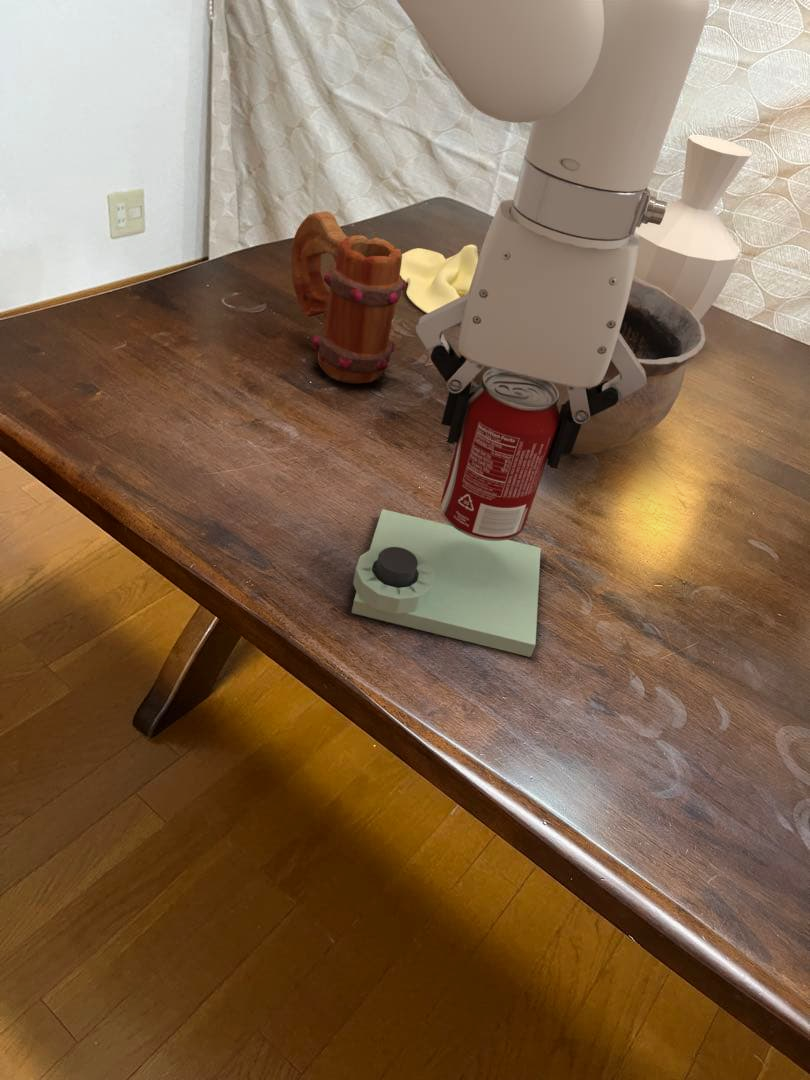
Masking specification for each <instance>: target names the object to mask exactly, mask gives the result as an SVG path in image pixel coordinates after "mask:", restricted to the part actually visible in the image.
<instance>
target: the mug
mask: <svg viewBox="0 0 810 1080" xmlns="http://www.w3.org/2000/svg"><path fill="white" fill-rule="evenodd" d="M293 238H294V239H293V242H292V246H291V259H290V265H291V267H290V269H291V278H292V284H293V288H294V291H295V295H296V298H297V301H298V303H299V305H300V307H301V310H302V312H303V314H304V315H305V316H306V317H307V318H309V317H315V316H317V315H321V314H325V313H326V314H325V319H324V322H322V324H320V326H319V329H318V331H317V335H315V336H314V337H312V338H311V345H312V347H313V348H314V349H316V350H317V362H318V365H319V367H320V368H321V369H322V371H323V372H324V374H326V375H327V376H328V377H329V378H331V379H333V380H335V381H338V382H341V383H344V384H350V385H351V384H366V383H367V384H368V383H372V382H374V381H375V380H378V379H379V378H380V377H382V375H383V371H385V370H386V369H388V364H389V362H390V358H391V354H392V353H393V352H394V351H395V348H396V346H395V344H394V342H392V341H391V339H390V334H391V329H392V323H393V320H394V317H395V312H396V305H397V303H398V302H399V300H400V299H401V296H402V293H403V292H402V291H404V290H405V288H406V287H407V283H406V282H405V280H404V279H402V277H401V276H400V269H401V263H402V254H403V253H402V251H401V250H400V249H399V248H395V246H394V245H393V244H392V243H391V242H390V241H388V240H385V239H383V238H379V237H373V238H372V239H368V237H366V236H365V235H362V234H360V235H359V234H358V235H350V236H348V235H346V234H345V233H344V231H343V230H342V228H341V226H340V225H339V223H338V220H337V219H336V216H335V215H334V214H333V213H331V212H329V211H320V212H314V213H310V214H308V215H307V216H306V217H305V218H304V219H303V221H302V222H301V223H300V225H299V226H298V228H297V229H296V232H295V234H294V237H293ZM325 254H329V255H331V256H332V257H333V258H334V260H333V262H332V264H330V266H329V270H328V272H327V273H326V274H325V275H324V276H323V275H322V255H325ZM325 284H326V285H327V286H328V287H329V291H328V288H327V287H326V285H325Z"/></svg>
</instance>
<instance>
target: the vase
mask: <svg viewBox="0 0 810 1080" xmlns="http://www.w3.org/2000/svg"><path fill="white" fill-rule="evenodd" d="M752 155H753V152H751V151H750V150H749V149H748V148H747V147H744V146H743V145H740V144H738V143H736V142H733V141H729V140H726V139H723V138H719V137H717V136H716V137H715V136H709V135H705V134H689V135H688V136H687V144H686V151H685V161H684V162H685V163H684V170H683V178H682V179H683V181H682V187H681V188H682V189H681V197H680V199H678V200H675V201H673V202H670V203H667V206H666V211H665V214H664V217H663V220H662V222H661V223H660V225H658V224H654V223H650V222H648V223H647V224H644V223H641V225H640V227H636V229H635V232H636V233H637V234H638V236H639V247H638V254H637V260H636V267H635V272H634V277H636V278H638V279H640V280H643V281H645V282H647V283H649V284H651V285H654V286H656V287H658V288H661V289H663V290H664V291H665V292H666V293H668V294H669V295H670V296H671V297H673V298H674V299H675V300H676V301H677V302H678V303H680V304H681V305H683V306H685V307H686V308H688V309H690V310H691V311H693V312H694V314H695V315H696V317H697V318H698V320H699V322H701V320H702V318H703V317H704V316H705V315H706V313H707V312H708V311H709V310H710V308H711V307H712V306H713V304H714V303H715V302H716V301H717V299H718V298H719V296H720V294H721V293H722V292H723V290H724V288H725V287H726V284H727V282H728V280H729V278H730V276H731V274H732V271H733V270H734V267H735V265H736V263H737V260H738V258H739V256H740V254H741V250H740V248H739V247H738V245H737V243H736V242H735V240H734V238H733V237H732V236H731V234H730V232H729V231H728V229H727V227H726V226H725V224H724V223H723V221H722V220H721V219H720V217H719V215H718V214H717V212H716V210H715V207H716V205H717V204H718V203H719V202H720V200H721V198H722V197H723V195H724V194H725V192H727V190H728V188H729V187H730V186H731V184H732V183H733V181H734V180H735V178H736V177H738V175H739V173H740V172H741V170H742V169H743V167H744V166H745V165H746V163H747V162H748V161H749V159H750V157H751V156H752Z"/></svg>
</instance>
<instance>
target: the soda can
mask: <svg viewBox="0 0 810 1080" xmlns="http://www.w3.org/2000/svg"><path fill="white" fill-rule="evenodd" d="M558 399H559V392H558V390H557V388H556V387H555V386H554V385H553V384H552V383H551V382H547V381H543V380H539V379H535V378H530V377H526V376H522V375H518V374H514V373H510V372H506V371H502V370H498V369H494V368H493V369H490V370H488V371H487V372H485V373H484V375H483V377H482V383H480V384H479V385H478V384H477V386H476V387H474V388H473V389H472V390H470V393H469V398H468V402H467V406H466V410H465V413H464V417H463V421H462V425H461V429H460V433H459V436H458V440H457V443H455V446H454V450H453V453H452V457H451V461H450V465H449V469H448V473H447V478H446V481H445V485H444V488H443V492H442V495H441V499H440V505H439V506H440V511H441V514H442V516H443V519H445V520H446V522H447V523H448V525H450V526H453V527H454V528H455V529H457V530H458V531H460V532H462V533H464V534H466V535H468V536H470V537H473V538H477V539H481V540H487V541H503V540H510V539H513V538H515V537H516V536H518V535H519V534H521V533H522V531H523V530H524V529H525V526H526V522H527V520H528V517H529V514H530V512H531V508H532V505H533V502H534V500H535V497H536V495H537V491H538V488H539V485H540V482H541V479H542V476H543V473H544V470H545V468H546V465H547V463H548V456H549V453H550V450H551V447H552V444H553V442H554V439H555V436H556V433H557V430H558V427H559V424H560V414H559V411H558V408H557V405H556V404H557V402H558Z"/></svg>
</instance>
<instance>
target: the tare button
mask: <svg viewBox="0 0 810 1080" xmlns="http://www.w3.org/2000/svg"><path fill="white" fill-rule="evenodd" d="M417 565H418V561H417V558H416V557H415V555H414V554H413V553H411V552H410V551H408V550H406V549H404V548H400V547H389V548H386V549H384V550H382V551H381V552H380V554H379V557H378V561H377V566H376V571H375V574H376V577H377V579H378V580H379V581H381V582H382V583H383V584H385V585H388V586H392V587H396V588H402V587H407V586H409V585H410V584H411V583H412V582H413V580H414V577H415V573H416V569H417Z"/></svg>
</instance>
